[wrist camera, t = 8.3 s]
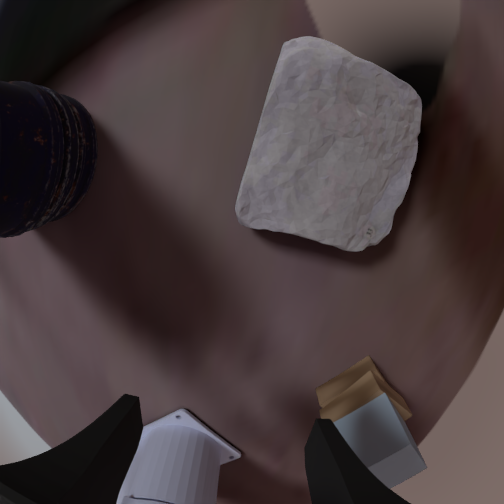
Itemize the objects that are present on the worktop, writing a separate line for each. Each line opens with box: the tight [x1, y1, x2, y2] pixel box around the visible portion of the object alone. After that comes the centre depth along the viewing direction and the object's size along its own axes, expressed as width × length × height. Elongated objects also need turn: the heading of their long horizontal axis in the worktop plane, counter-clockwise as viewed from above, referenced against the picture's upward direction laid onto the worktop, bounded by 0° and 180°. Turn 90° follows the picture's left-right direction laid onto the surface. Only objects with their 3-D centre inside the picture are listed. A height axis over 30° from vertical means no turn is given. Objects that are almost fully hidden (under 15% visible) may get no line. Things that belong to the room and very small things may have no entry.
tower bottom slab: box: [316, 356, 389, 408], centre depth 22 cm, size 5×5×2 cm
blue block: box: [333, 393, 427, 489], centre depth 16 cm, size 4×4×5 cm
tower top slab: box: [319, 370, 412, 422], centre depth 20 cm, size 5×5×2 cm
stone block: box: [235, 36, 422, 252], centre depth 17 cm, size 12×5×10 cm
